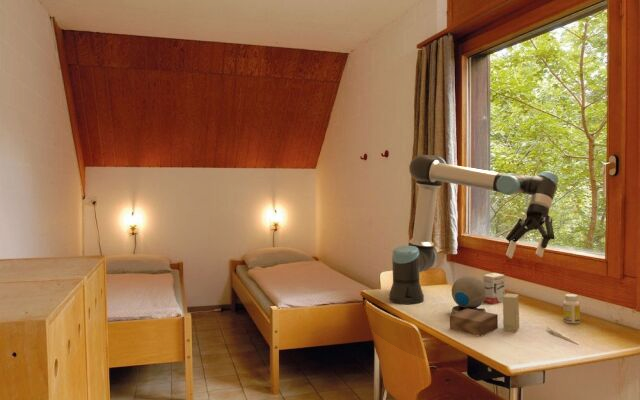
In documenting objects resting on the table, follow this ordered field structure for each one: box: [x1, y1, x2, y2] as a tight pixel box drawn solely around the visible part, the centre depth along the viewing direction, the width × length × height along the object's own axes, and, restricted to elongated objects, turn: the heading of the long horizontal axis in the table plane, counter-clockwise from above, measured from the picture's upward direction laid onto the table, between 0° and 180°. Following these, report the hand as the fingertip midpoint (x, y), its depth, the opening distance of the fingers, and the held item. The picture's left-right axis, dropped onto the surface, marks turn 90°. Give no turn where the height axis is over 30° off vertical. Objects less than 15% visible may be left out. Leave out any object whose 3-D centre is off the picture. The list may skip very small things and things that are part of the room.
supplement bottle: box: [562, 293, 581, 324], centre depth 175 cm, size 5×5×10 cm
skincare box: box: [502, 292, 520, 333], centre depth 168 cm, size 6×4×12 cm
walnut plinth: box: [449, 308, 499, 337], centre depth 170 cm, size 12×12×5 cm
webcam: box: [451, 275, 487, 315], centre depth 189 cm, size 13×13×15 cm
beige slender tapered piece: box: [546, 325, 580, 346], centre depth 159 cm, size 15×3×2 cm, turn 12°
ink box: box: [483, 272, 506, 305], centre depth 206 cm, size 8×5×12 cm, turn 123°
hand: (523, 256), depth 177 cm, fingers open, 13 cm apart
